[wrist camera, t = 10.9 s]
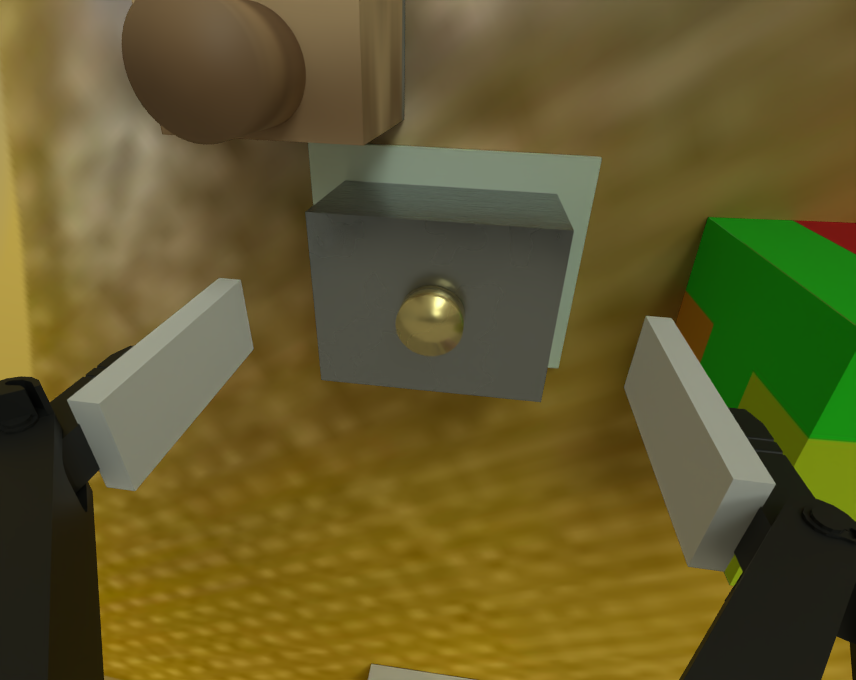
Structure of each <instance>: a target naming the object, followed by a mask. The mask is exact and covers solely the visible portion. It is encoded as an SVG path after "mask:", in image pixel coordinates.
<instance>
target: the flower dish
mask: <svg viewBox="0 0 856 680" xmlns="http://www.w3.org/2000/svg"><path fill="white" fill-rule="evenodd" d="M368 680H474V679H467V678H460V677H454V676H447V675H441V674H434V673H428V672H421V671H415V670H408V669H401V668H395V667H388V666H382V665H375V664H371V668H370V673H369V678H368Z"/></svg>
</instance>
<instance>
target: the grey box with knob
mask: <svg viewBox="0 0 856 680" xmlns="http://www.w3.org/2000/svg"><path fill="white" fill-rule="evenodd" d="M305 214H306V225H307V235H308V245H309V256H310V266H311V277H312V287H313V297H314V308H315V318H316V329H317V339H318V349H319V360H320V370H321V380H327V381H337V382H347V383H357V384H366V385H376V386H386V387H396V388H406V389H416V390H426V391H436V392H446V393H456V394H466V395H476V396H486V397H496V398H506V399H515V400H525V401H535V402H541V399H542V394H543V389H544V384H545V378H546V373H547V368H548V363H549V358H550V352H551V347H552V342H553V337H554V332H555V327H556V321H557V316H558V311H559V306H560V301H561V296H562V290H563V285H564V280H565V275H566V270H567V265H568V259H569V254H570V249H571V244H572V239H573V234H574V229H573V227H572V225H571V223H570V221H569V219H568V216H567V214H566V212H565V210H564V208H563V206H562V203H561V201H560V199H559V197H558V195H557V194H551V193H536V192H520V191H504V190H488V189H472V188H456V187H440V186H425V185H409V184H393V183H377V182H361V181H344V182H342V183H341V184H340V185H339V186H337V187H336V188H335V189H333V190H332V191H331V192H330V193H328V194H327V195H326V196H325V197H323V198H322V199H321V200H320V201H318V202H317V203H316V204H315V205H313V206H312V207H311V208H310V209H308V210H307V211H306V212H305Z"/></svg>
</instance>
